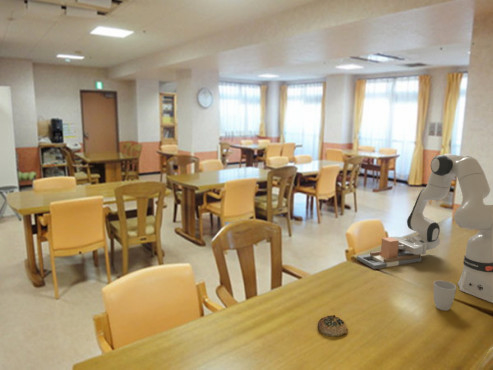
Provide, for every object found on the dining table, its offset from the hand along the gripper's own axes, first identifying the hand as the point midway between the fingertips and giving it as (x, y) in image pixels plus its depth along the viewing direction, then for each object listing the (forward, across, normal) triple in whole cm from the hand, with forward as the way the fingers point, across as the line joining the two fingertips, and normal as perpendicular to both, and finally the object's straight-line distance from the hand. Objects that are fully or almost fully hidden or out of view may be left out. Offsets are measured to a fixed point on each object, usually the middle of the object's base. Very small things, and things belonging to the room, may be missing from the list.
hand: (394, 246), depth 200 cm
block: (+3, 0, +6) cm, 6 cm away
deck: (+2, 0, +8) cm, 8 cm away
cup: (+19, +48, +8) cm, 52 cm away
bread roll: (+70, +46, +8) cm, 84 cm away
